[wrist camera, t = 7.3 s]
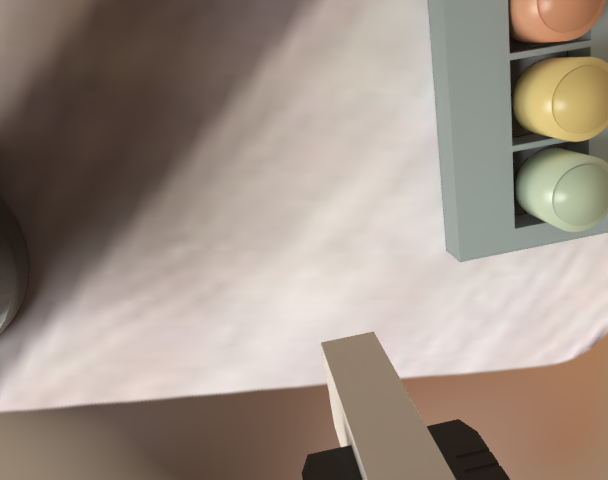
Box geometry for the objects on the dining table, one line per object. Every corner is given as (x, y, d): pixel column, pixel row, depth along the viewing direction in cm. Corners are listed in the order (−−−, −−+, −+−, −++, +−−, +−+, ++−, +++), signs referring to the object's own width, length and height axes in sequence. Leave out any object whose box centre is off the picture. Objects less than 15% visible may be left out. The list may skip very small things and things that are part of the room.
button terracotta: (499, 49, 37) (532, 47, 33) (497, -32, 35) (530, -45, 31) (569, 37, 37) (609, 34, 33) (569, -44, 35) (611, -57, 31)
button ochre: (513, 140, 37) (546, 148, 33) (511, 64, 35) (546, 64, 32) (581, 127, 37) (622, 134, 34) (582, 52, 36) (625, 50, 32)
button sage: (515, 222, 39) (547, 240, 35) (513, 154, 37) (547, 164, 34) (580, 209, 39) (619, 225, 36) (581, 141, 38) (622, 150, 34)
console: (446, 250, 41) (460, 262, 39) (423, -54, 35) (438, -63, 32) (616, 216, 42) (640, 225, 40) (627, -85, 36) (656, -96, 33)
